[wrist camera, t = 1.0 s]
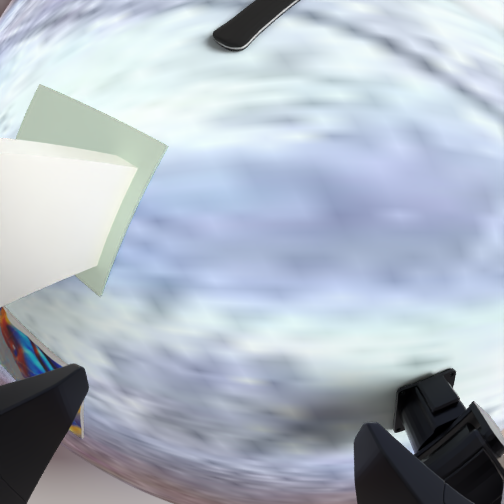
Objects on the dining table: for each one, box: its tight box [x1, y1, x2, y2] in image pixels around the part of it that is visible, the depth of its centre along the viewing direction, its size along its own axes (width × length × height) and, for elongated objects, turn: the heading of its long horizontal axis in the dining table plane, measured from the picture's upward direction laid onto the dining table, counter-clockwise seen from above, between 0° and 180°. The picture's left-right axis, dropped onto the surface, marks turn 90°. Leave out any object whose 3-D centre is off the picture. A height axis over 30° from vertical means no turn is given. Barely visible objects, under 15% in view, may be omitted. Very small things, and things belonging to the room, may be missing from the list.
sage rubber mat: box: [16, 85, 168, 296], centre depth 20 cm, size 20×14×1 cm
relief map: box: [0, 306, 84, 439], centre depth 26 cm, size 25×15×2 cm, turn 66°
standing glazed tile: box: [0, 138, 138, 308], centre depth 13 cm, size 3×9×14 cm, turn 149°
